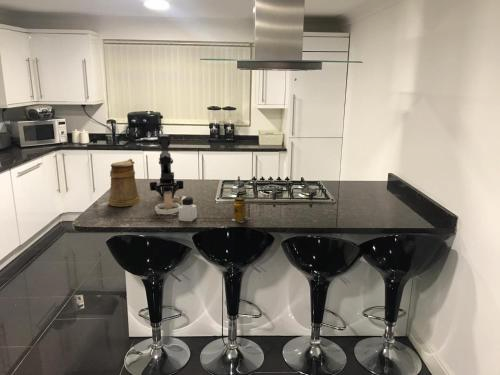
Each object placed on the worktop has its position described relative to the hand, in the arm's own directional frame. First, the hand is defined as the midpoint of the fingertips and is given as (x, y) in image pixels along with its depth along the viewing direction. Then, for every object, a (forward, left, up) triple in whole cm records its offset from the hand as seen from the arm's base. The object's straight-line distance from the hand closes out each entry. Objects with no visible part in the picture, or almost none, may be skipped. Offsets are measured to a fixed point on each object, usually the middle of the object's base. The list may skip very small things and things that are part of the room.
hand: (167, 198), depth 239 cm
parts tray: (-2, +18, -8) cm, 20 cm away
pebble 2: (-1, +17, -7) cm, 18 cm away
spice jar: (-1, +1, -7) cm, 7 cm away
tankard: (-33, +12, -8) cm, 36 cm away
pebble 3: (+1, +20, -7) cm, 21 cm away
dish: (-1, +1, -8) cm, 8 cm away
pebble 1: (-4, +19, -7) cm, 20 cm away
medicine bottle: (+15, -9, -8) cm, 20 cm away
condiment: (+43, -3, -8) cm, 44 cm away
